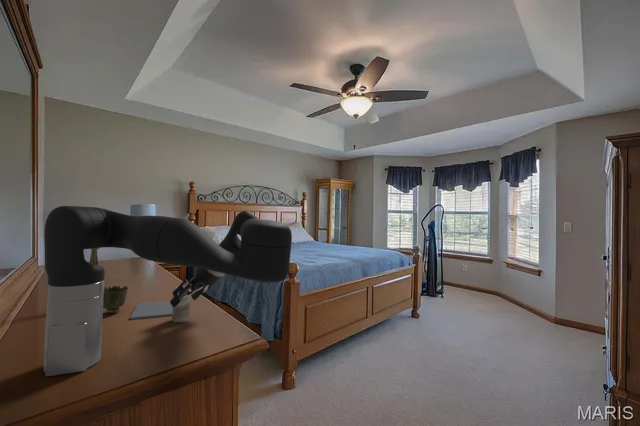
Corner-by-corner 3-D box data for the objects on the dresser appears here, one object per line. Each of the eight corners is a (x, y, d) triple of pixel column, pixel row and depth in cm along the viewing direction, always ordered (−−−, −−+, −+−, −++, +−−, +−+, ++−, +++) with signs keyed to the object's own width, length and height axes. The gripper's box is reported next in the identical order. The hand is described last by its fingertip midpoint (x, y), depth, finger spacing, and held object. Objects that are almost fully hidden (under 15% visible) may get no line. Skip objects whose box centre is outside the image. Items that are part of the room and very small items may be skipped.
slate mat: (187, 314, 96) (187, 312, 96) (129, 319, 89) (129, 317, 89) (187, 301, 110) (187, 299, 110) (138, 305, 104) (138, 303, 104)
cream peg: (189, 321, 89) (190, 288, 89) (171, 323, 87) (172, 289, 87) (189, 316, 93) (190, 284, 94) (172, 318, 91) (173, 285, 92)
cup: (132, 310, 98) (133, 286, 98) (114, 317, 91) (115, 291, 91) (111, 308, 99) (112, 284, 99) (92, 315, 91) (93, 290, 92)
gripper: (206, 280, 80) (171, 317, 83) (236, 272, 93) (205, 304, 96) (191, 259, 82) (157, 297, 85) (223, 254, 95) (193, 286, 98)
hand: (183, 301), depth 91 cm, fingers open, 8 cm apart
